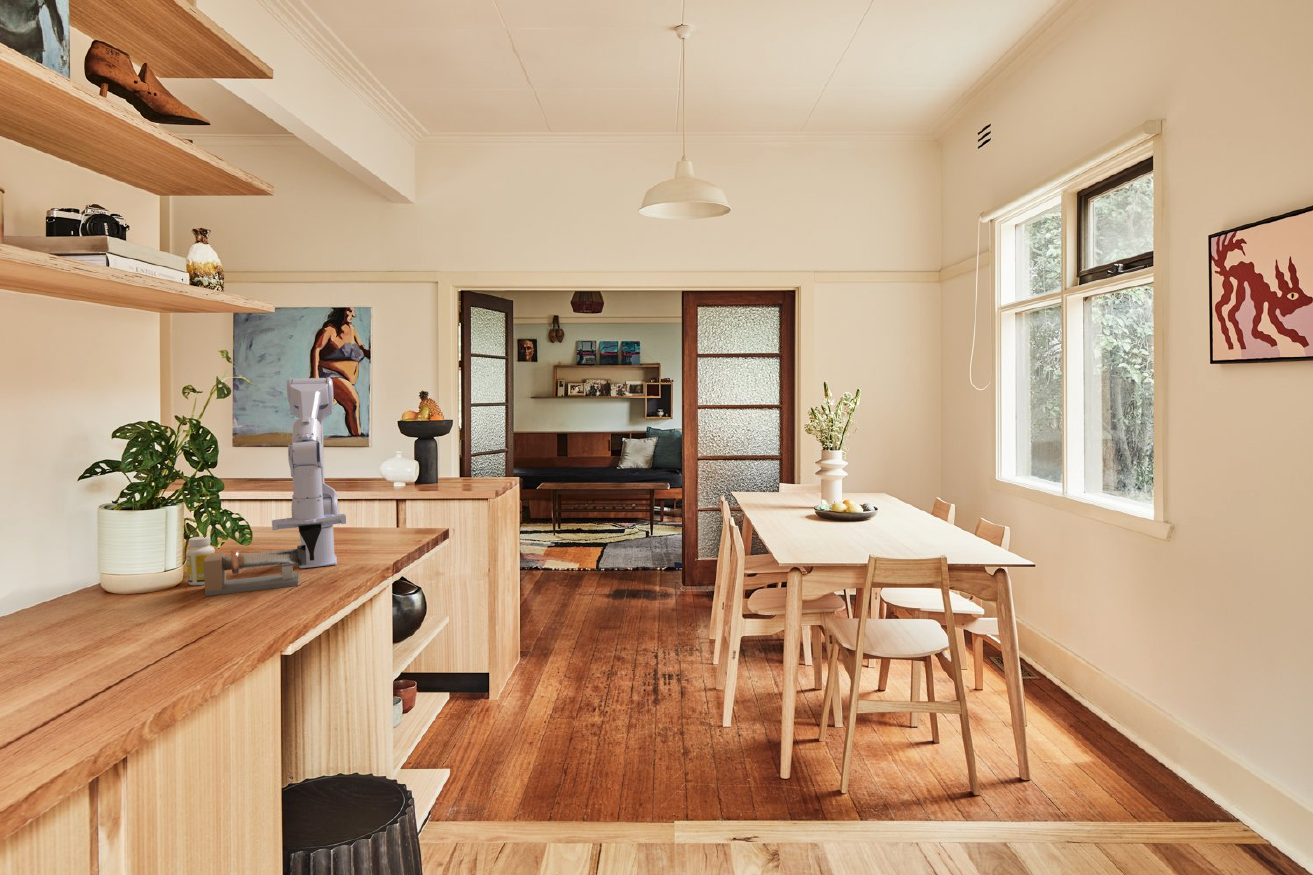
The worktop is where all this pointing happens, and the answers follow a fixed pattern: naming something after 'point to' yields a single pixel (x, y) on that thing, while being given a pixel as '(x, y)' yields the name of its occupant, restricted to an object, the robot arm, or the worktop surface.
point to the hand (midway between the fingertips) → (311, 559)
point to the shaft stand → (220, 585)
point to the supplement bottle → (197, 559)
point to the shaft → (264, 559)
